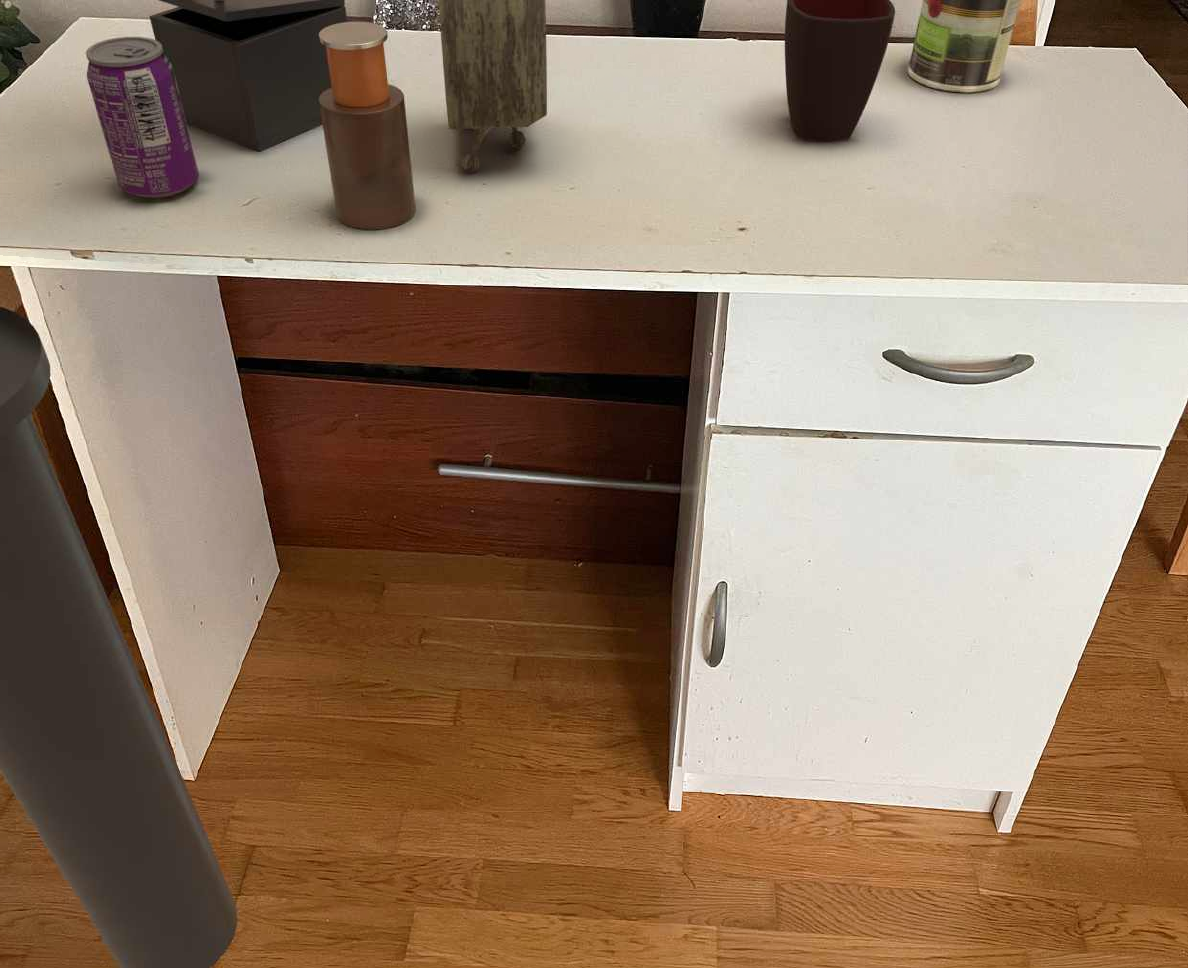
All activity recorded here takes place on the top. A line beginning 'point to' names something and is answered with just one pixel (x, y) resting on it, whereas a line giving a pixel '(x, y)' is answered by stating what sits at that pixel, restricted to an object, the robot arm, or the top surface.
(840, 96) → the cup
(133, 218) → the top surface
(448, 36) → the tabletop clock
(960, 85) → the coffee can
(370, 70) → the cylinder
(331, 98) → the stand
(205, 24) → the open storage bin
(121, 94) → the beverage can
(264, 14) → the lid
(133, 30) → the top surface
